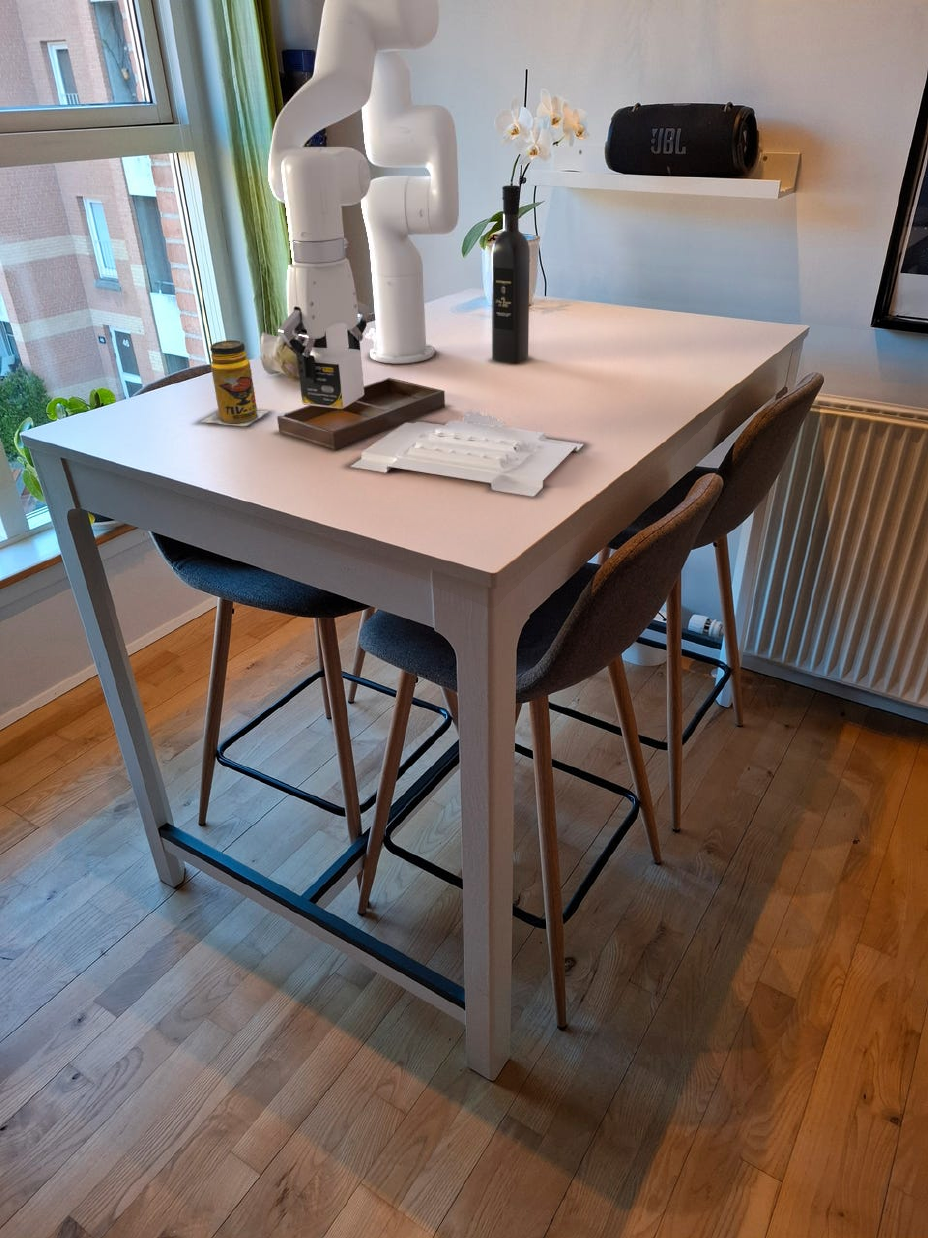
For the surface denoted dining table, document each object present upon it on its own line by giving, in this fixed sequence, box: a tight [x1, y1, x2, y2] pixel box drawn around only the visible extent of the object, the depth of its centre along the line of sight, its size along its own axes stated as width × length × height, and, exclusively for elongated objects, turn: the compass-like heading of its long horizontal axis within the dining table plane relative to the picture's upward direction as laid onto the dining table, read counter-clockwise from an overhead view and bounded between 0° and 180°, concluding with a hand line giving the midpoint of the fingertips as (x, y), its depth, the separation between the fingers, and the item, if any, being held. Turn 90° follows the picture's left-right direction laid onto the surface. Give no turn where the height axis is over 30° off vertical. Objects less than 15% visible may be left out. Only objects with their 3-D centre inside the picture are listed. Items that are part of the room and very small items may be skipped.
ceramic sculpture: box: [259, 331, 306, 383], centre depth 161 cm, size 11×9×15 cm
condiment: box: [200, 339, 269, 427], centre depth 141 cm, size 7×8×12 cm
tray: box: [349, 409, 584, 497], centre depth 127 cm, size 20×28×4 cm
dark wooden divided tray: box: [276, 377, 446, 451], centre depth 141 cm, size 13×25×3 cm, turn 140°
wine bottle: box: [491, 184, 531, 364], centre depth 162 cm, size 6×6×30 cm
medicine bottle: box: [299, 323, 365, 409], centre depth 133 cm, size 7×7×12 cm
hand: (331, 373), depth 134 cm, fingers closed on medicine bottle, 8 cm apart
